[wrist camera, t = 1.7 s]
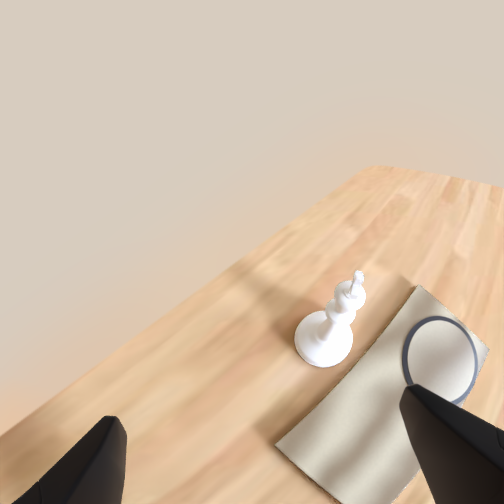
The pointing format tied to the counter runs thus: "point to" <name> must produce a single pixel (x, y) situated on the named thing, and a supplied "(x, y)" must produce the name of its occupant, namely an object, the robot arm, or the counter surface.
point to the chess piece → (331, 326)
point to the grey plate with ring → (384, 404)
